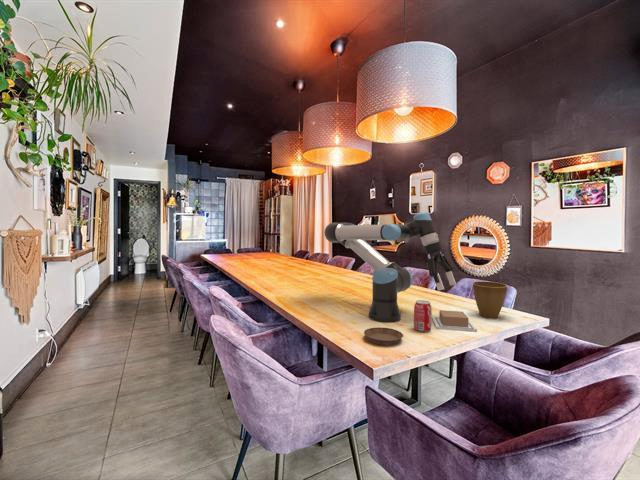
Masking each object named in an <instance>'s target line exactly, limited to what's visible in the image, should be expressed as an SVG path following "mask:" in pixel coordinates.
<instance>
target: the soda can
mask: <svg viewBox="0 0 640 480" xmlns="http://www.w3.org/2000/svg"><path fill="white" fill-rule="evenodd" d="M413 309H414V310H413V326H414V329H415V330H416V331H418V332H419V333H420V332H421V333H429V332H430V331H431V330H432V323H433V320H432V317H433V316H432V314H433V312H432V311H433V308H432V304H431V302H430V301H427V300H424V299H423V300H421V299H420V300H419V299H418V300H416V301H415V303H414V306H413Z"/></svg>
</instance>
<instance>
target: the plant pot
mask: <svg viewBox="0 0 640 480" xmlns="http://www.w3.org/2000/svg"><path fill="white" fill-rule="evenodd" d="M472 289H473V290H472V291H473V296H474V300H475V303H476V308H477V311H478V312H479V315H480V316H481V317H483V318H488V319H497V318H498V316H499V315H500V312H501V310H502V307H503V306H504V303H505V298H506V295H507V292H508V291H507V290H508V285H507V284H505V283H501V282H496V281H485V280H482V281H478V280H477V281H473V282H472Z"/></svg>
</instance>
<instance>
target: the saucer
mask: <svg viewBox="0 0 640 480" xmlns="http://www.w3.org/2000/svg"><path fill="white" fill-rule="evenodd" d="M363 334H364V336H365V337H366V338H367V339H368V340H369V341H370V342H372V343H374V344H377V345H383V346H390V345H391V346H392V345H395V344H397V343H398V342H400V341H401V340H402V338H403V337H404V334H403V332H401V331H400V330H397V329H394V328H389V327H369V328H366V329H365V330H364V331H363Z"/></svg>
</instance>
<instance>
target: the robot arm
mask: <svg viewBox="0 0 640 480" xmlns="http://www.w3.org/2000/svg"><path fill="white" fill-rule="evenodd" d="M323 232H324V237H325V238H326V239H325V240H327V241H328V242H330V243H333V244H335V243H336V244H341V245H343V246H344V247H345V249H351V250H352V251H353V252H354V253H355V254H356V255H357V256H358V257H360V258H361V259H362V260H363V261H364V262H365V263H366V264H367V265H368V266H370V268H371V269H373V272H372V279H371V280H372V300H371V304H370V307H369V310H368V318H369V319H371V320H373V321H376V322H382V323H395V322H398V321H400V320H401V318H402V317H401V316H402V315H401V311H400V306H399V303H398V293H400V292H405V291H406V290H408V289H410V288H411V286H412V284H413V275H412V272H411V271H410V270H409V269H407V268H406V267H401V266H400V265H398V264H397V263H396V262H395V261H393V262H391V261H389V260H388V259H387V258H385V257H384V255H382V254H381V253H380V252H379V251H377V250H376V249H375V248H374V247H372V245H370V244H369V242H367V241H393V242H394V241H396V242H397V243H402V242H406V241H408V240H410V239H413V238H415V237H417V236H419V237H420V240H421V243H422V246H423V249H424V252H425V253H426V259H427V265H428V266H427V267H428V274H429V277H430V278H431V277H433V281H434V284H435V286H436V288H437V291H442V290H445V287H444V284H443V281H442V279H441V275H440V274H439V265H440V266H441V268H442V269H443V270H444V271H445V275H446V278H447V280H448V283H449V286H450V287H451V286H456V285H457V282H456V280H455V278H454V277H455V276H454V274H453V271H454V269H453V266H452V264H451V262H450V261H449V259H448V258H447V256H446V254H445V252H444V251H441V250H443V247H442V244H441V242H440V239H439V234H437V231H436V228H435V224H434V223H433V219H432V218H431V215H430V213H429V212H428V211H423V212H419V213H417V214H415V215H414V216H413V220H412V221H410V222H407V223H405V224H398V223H397V224H395V223H388V224H357V225H356V224H354V223H352V222H330V223H329V224H327V225H326V227H325V229H324V231H323Z"/></svg>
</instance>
